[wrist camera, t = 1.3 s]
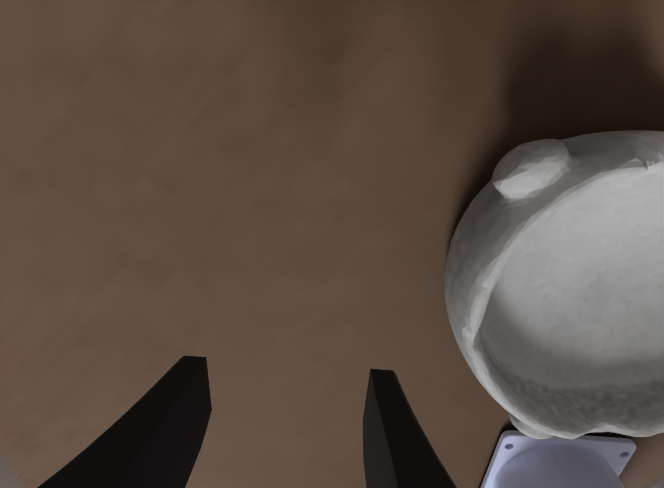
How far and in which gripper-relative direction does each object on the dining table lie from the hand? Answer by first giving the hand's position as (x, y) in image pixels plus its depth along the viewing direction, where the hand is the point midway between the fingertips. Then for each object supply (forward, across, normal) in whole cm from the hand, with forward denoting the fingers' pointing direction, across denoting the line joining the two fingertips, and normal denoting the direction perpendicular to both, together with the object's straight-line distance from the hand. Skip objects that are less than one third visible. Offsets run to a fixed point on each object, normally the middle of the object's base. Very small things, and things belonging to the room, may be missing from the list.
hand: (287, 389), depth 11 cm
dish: (+9, -13, 0) cm, 16 cm away
